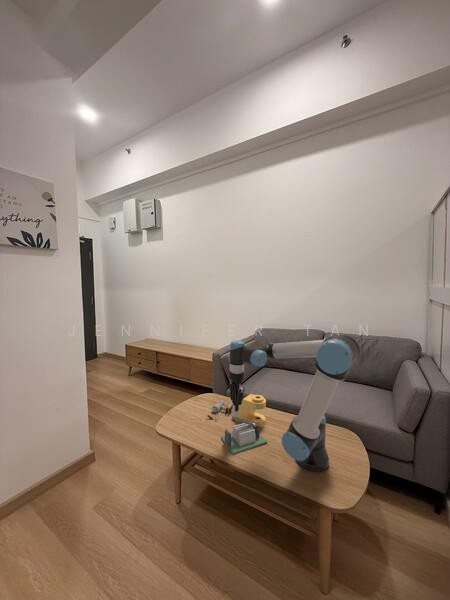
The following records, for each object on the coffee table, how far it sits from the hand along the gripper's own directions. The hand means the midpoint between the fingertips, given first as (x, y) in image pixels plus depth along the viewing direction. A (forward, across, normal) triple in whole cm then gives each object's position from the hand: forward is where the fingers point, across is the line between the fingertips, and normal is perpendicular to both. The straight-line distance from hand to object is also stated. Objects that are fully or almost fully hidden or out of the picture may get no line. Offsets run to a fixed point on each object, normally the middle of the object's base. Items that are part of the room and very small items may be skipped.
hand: (235, 415), depth 127 cm
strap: (+4, 0, -5) cm, 7 cm away
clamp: (+15, +15, -18) cm, 28 cm away
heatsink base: (+15, 0, -5) cm, 16 cm away
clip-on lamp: (+15, +30, -5) cm, 34 cm away
